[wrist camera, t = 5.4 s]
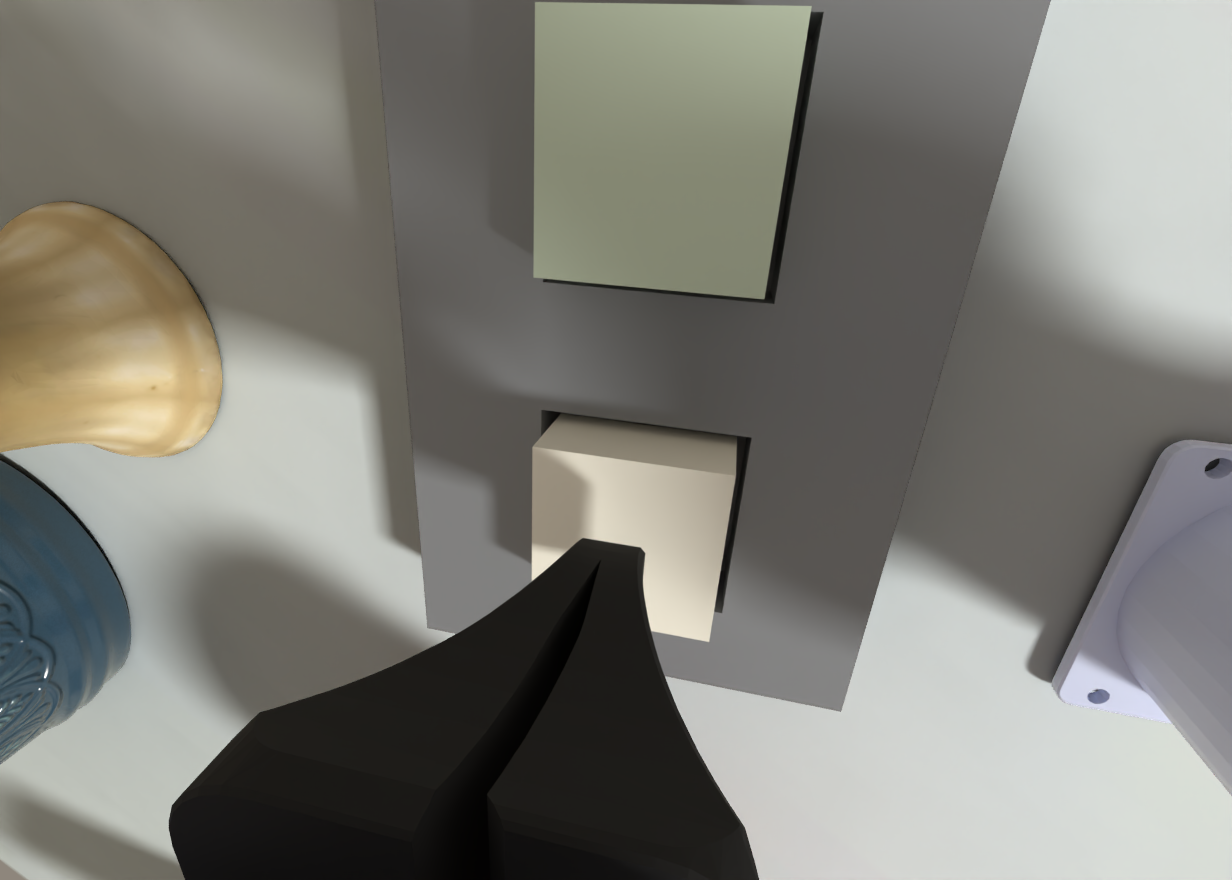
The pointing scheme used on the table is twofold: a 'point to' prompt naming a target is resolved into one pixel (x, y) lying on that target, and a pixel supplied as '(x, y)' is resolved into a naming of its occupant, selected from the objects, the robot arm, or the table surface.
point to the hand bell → (100, 338)
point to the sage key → (663, 142)
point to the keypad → (701, 315)
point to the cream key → (639, 507)
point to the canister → (51, 614)
